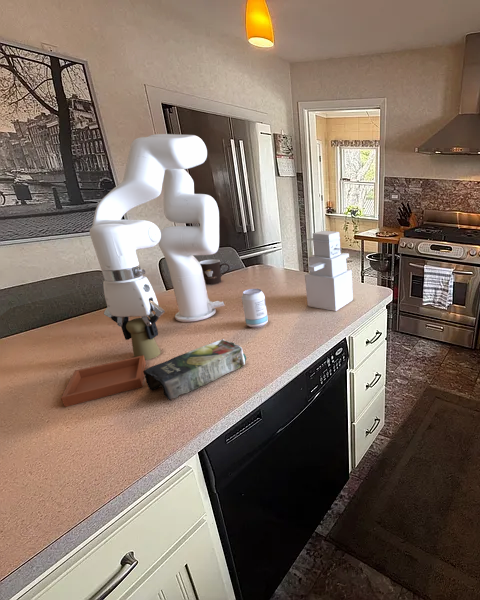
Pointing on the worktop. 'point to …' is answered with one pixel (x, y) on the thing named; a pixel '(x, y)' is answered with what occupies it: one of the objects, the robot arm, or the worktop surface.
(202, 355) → the juice carton
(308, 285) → the blocky snowman figure
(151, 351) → the cork
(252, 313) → the beverage can
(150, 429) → the worktop surface
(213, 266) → the coffee mug
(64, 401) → the tray
